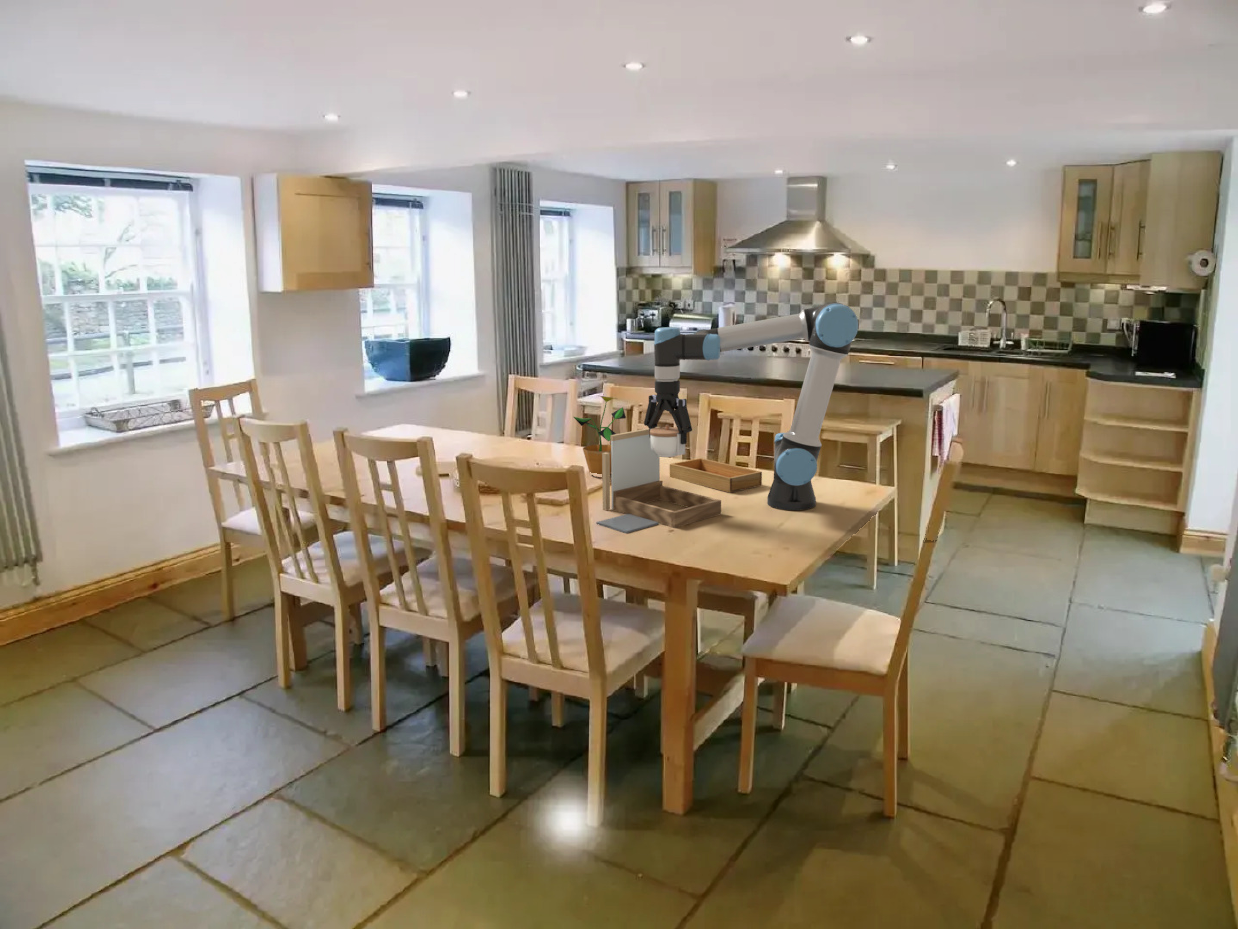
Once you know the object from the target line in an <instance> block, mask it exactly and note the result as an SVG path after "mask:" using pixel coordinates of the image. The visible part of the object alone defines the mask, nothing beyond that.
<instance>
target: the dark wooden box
mask: <svg viewBox="0 0 1238 929" xmlns="http://www.w3.org/2000/svg"><path fill="white" fill-rule="evenodd" d="M657 501H664V502H667V503H671V504H675V505H679V506H683V507H685V508H683V509H679V510H675V511H674V510H672V509H666V508H664V507H660V506H657V505H652V504H649V503H652V502H657ZM612 511H615V512H618V513H622V514H624V515H625V514H631V515H635V516H638V517H642V518H645V519H649V520H652V521H656V522H659V524H660V525H664V526H667V527H671V528H673V529H676V528H679V527H682V526H687V525H689V524H693V523H696V522H699V521H703V520H706V519H709V518H714V517H717V516H720V515H722V500H721V499H717V498H715V497H714V498H713V497H710V496H705V495H701V494H697V493H693V492H689V491H685V490H681V489H678V488H673V487H669V486H666V485H663V480H660V481H656V482H651V483H647V484H643V485H639V486H634V487H630V488H626V489H622V490H618V491H613V510H612ZM659 524H658V525H659Z"/></svg>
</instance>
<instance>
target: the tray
mask: <svg viewBox="0 0 1238 929" xmlns="http://www.w3.org/2000/svg"><path fill="white" fill-rule="evenodd" d="M669 478H673V479H676V480H679V481H684V482H688V483H691V484H695V485H699V486H702V487H703V486H704V487H707V488H711V489H715V490H719V491H723V492H727V493H731V494H732V493H734V492H735V493H736V492H739V491H745V490H748V489H751V488H756V487H761V486H762V484H763V483H762V482H763V481H762V480H763V472H762V471H760V470H756V469H751V468H746V467H742V466H739V465H735V464H729V463H726V462H725V463H724V462H721V461H715V460H711V459H707V458H703V457H699V458H695V459H688V460H683V461H677V462H673V463H669Z"/></svg>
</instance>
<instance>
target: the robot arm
mask: <svg viewBox="0 0 1238 929" xmlns="http://www.w3.org/2000/svg"><path fill="white" fill-rule="evenodd" d="M858 320H859V319H858V317H857V314H856V312H854V310H853V309H852V308H851V307H849V306H847V305H845V304H843V303H840V302H837V301H833V302H831V301H829V302H827V303H823V304H820V305H817V306H813V307H810V308H805V309H802V310H801V311H800V312H799V313H796V314H790V315H784V316H783V315H782V316H779V317H778V316H777V317H773V318H768V319H767V318H766V319H762V320H761V319H759V320H756V321H750V322H749V321H748V322H744V323H739V324H732V325H727V326H721V327H717V328H708V329H704V328H703V329H698V330H697V331H695V332H694V333H693V334H683V333H681V331H680V328H679V327H676V326H675V327H673V326H671V327H670V326H669V327H668V326H667V327H658V328H656V329H655V330H654V340H653V341H654V342H653V344H654V345H653V348H654V353H653V354H654V380H655V381H654V392H655V393H656V394H650V395H648V403H647V408H646V412H645V413H646V414H645V416H644V421H643V425H644V426H647V429H648V428H649V437H650V430H651V429H654V428H655V427H659V426H658V424H659V422H660V419H662V418H661V417H662V415H663V413H664V412H665V411H667V412H669V414H670V415H671V417H672V419H673V421H674V423H675V424H674V425H675V426H676V427H677V428H678V431H679V433H678V434H677V455H678V456H682V455H686V444H687V439H688V438H687V437H688V436H687V434H688V433H690V432H693V427H692V423H691V418H690V414H689V412H688V400H687V399H686V398H682V399H681V398H680V397H679V393H680V392H681V382H680V380H679V379H680V376H681V370H680V369H681V366H680V364H681V362H680V361H681V360H682V361H685V360H686V361H687V360H688V361H689V360H694V361H695V360H696V361H698V360H699V361H700V360H701V361H703V360H704V361H711V360H713V361H714V360H719V359H720V357H721V353H723V352H729V351H735V350H741V349H747V348H752V347H754V348H755V347H759V346H760V347H761V346H764V345H765V346H766V345H772V344H778V343H784V342H789V341H790V342H791V341H796V340H801V339H803V340H805V341H806V342H809V343H808V348H810V351H811V355H810V359H809V362H808V365H807V370H806V372H805V375H804V380H803V383H802V385H801V390H800V394H799V396H798V400H797V404H796V408H795V411H794V415H793V418H792V422H791V425H790V427H789V430H788V431H787V432H778V433H776V434H775V436H774V441H773V443H774V451H773V452H774V453H773V455H774V457H773V459H774V460H773V480H772V483H771V486H770V489H769V491H768V494H767V502H766V504H767V506H769V507H771V508H775V509H779V510H785V511H805V510H810V509H813V508H815V507H816V503H817V498H816V495H815V492H814V488H813V487H814V486H813V483H812V479H813V478H814V477H815V474H816V473H817V470H818V458H819V456H820V452H821V448H822V446H823V445H822V442H821V440H820V438H819V436H820V433H821V430H822V426H823V423H824V419H825V416H826V412H827V409H828V405H829V403H830V399H831V395H832V393H833V388H834V385H835V382H836V378H837V374H838V372H839V368H840V364H841V361H842V359H844V358H846V357H848V356H849V352H850V350H851V346H852V344H853V340H855V338H856V335H857V334H858V330H859V321H858ZM650 446H651V440H650ZM651 450H653V448H652V446H651Z"/></svg>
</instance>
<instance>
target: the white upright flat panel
mask: <svg viewBox="0 0 1238 929" xmlns="http://www.w3.org/2000/svg"><path fill="white" fill-rule="evenodd" d="M655 428H660V426H658V427H655ZM610 438H611V440H610V441H611V442H610V445H611V475H610V456H609V453H602V477H601V478H602V481H601V482H602V510H604V511H609V510H612V511H614V510H613V491H618V490H622V489H626V488H630V487H634V486H639V485H643V484H647V483H651V482H656V481H661V480H660V473H661V472H660V471H661V465H660V463H661V462H660V459H661V458H660V456H658V454H657V453H656V452H655V451H654V450H651V446H650V437H649V428H648V427H647V428H644V429H643V428H642V429H639V430H631V431H627V432H621V433H616V434H615V435H610ZM610 479H611V480H610ZM610 483H611V484H610Z"/></svg>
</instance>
